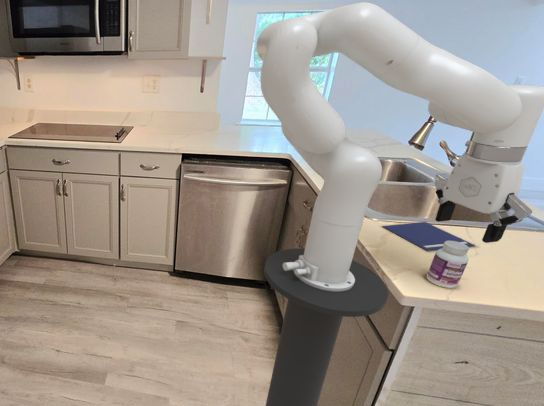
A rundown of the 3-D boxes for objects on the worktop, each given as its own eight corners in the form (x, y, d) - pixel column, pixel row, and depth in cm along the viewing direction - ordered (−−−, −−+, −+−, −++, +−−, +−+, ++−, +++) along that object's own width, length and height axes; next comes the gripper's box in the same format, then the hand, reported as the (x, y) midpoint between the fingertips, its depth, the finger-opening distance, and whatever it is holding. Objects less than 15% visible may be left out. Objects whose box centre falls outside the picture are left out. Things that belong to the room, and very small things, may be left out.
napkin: (427, 251, 94) (427, 249, 94) (382, 226, 107) (382, 225, 107) (474, 246, 96) (475, 244, 96) (424, 222, 109) (425, 221, 108)
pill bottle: (441, 289, 80) (456, 251, 76) (419, 275, 85) (433, 239, 81) (464, 288, 80) (480, 250, 76) (441, 274, 85) (456, 238, 81)
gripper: (434, 143, 78) (412, 215, 85) (532, 166, 62) (494, 253, 69) (465, 140, 79) (440, 212, 85) (569, 163, 63) (529, 248, 70)
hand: (464, 230), depth 77 cm, fingers open, 9 cm apart
